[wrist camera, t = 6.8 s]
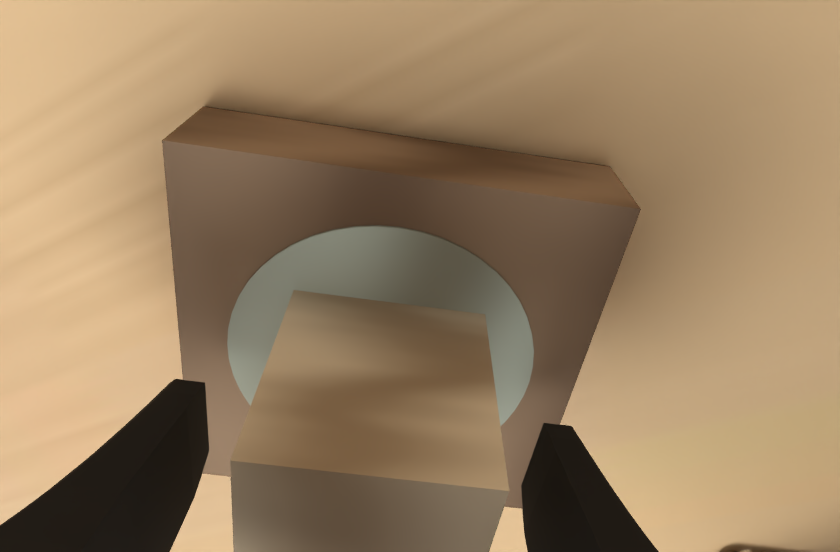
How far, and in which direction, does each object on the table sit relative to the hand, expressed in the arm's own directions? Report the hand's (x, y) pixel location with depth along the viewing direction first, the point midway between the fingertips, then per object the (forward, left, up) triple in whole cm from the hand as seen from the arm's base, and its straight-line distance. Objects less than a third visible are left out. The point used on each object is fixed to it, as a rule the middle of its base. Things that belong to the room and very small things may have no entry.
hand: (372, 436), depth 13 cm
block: (0, 0, -2) cm, 2 cm away
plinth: (0, 0, -5) cm, 5 cm away
